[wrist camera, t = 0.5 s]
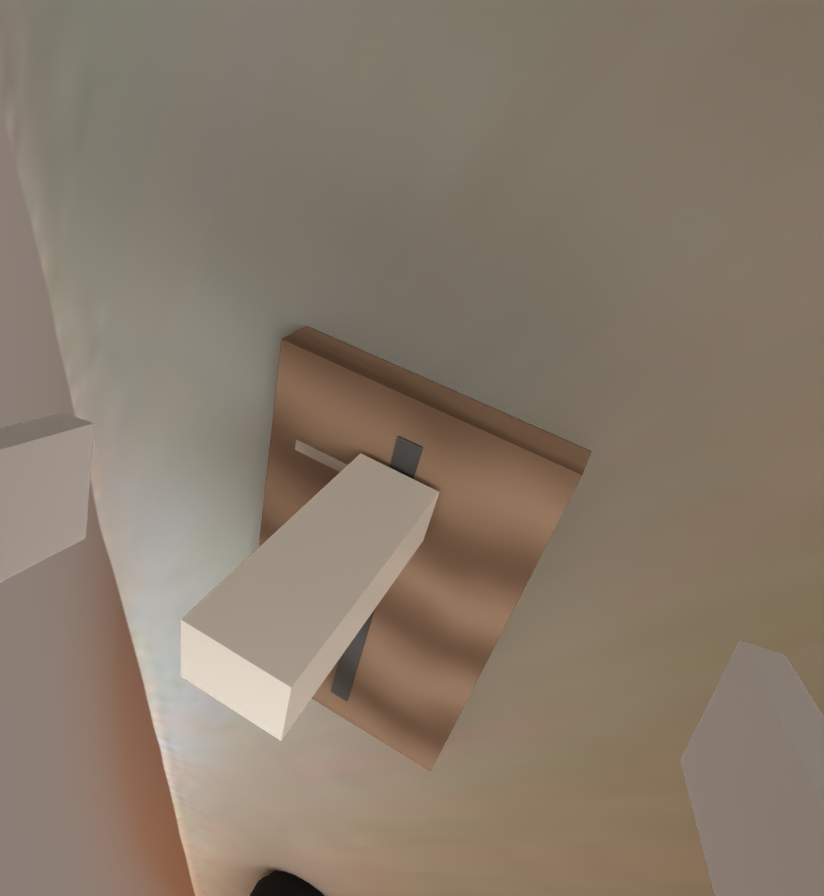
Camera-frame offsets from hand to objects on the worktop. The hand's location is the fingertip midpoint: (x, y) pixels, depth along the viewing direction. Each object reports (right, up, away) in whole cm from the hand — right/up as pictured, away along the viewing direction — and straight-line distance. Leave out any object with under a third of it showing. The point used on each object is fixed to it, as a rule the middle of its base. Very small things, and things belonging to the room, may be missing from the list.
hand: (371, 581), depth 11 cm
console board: (-1, -4, +21) cm, 21 cm away
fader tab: (0, 0, +15) cm, 15 cm away
